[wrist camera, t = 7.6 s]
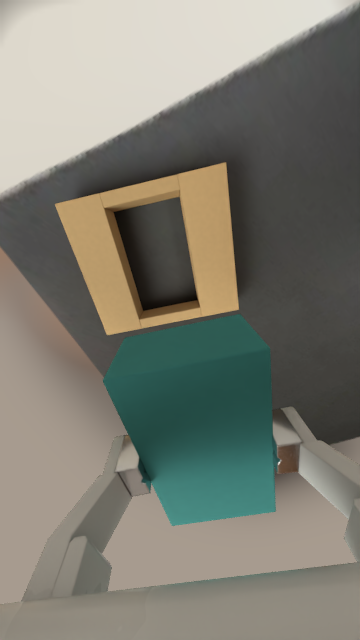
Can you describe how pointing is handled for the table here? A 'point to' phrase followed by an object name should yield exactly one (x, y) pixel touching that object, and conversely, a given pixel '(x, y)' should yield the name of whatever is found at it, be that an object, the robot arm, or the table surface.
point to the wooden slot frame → (111, 261)
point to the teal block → (200, 417)
